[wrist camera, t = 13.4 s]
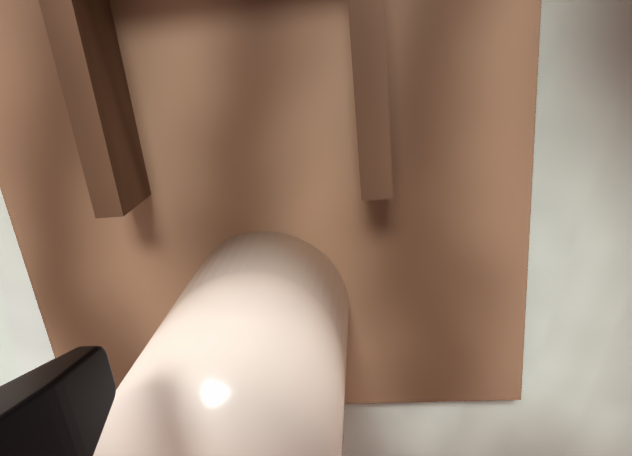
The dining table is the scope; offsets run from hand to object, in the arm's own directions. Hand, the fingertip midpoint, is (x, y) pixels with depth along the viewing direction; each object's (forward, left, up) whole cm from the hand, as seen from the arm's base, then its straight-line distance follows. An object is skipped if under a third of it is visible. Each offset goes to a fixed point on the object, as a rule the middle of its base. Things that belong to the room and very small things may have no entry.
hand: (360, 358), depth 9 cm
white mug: (+4, +7, -11) cm, 13 cm away
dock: (+4, 0, -12) cm, 13 cm away
